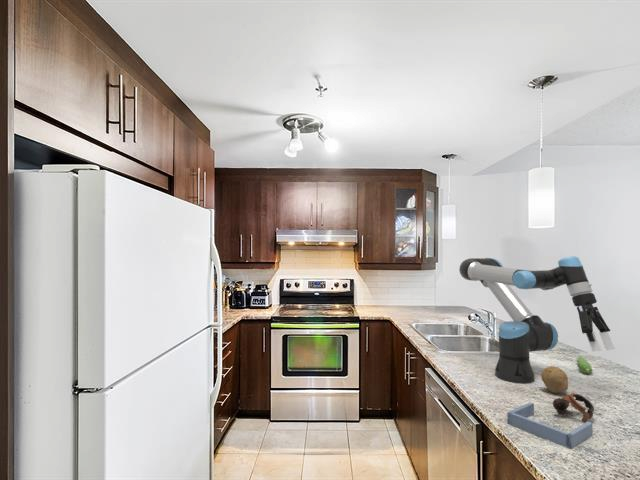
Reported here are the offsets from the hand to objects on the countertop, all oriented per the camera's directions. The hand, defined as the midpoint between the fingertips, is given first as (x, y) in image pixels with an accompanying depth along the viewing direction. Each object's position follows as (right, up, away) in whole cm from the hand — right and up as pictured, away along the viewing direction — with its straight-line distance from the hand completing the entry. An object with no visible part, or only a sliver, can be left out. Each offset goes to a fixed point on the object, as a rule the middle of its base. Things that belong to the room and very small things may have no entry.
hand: (604, 350), depth 137 cm
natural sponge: (-15, -18, +5) cm, 24 cm away
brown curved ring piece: (-23, -18, -15) cm, 33 cm away
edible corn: (+17, -19, +34) cm, 42 cm away
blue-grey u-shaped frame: (-36, -17, -24) cm, 46 cm away
